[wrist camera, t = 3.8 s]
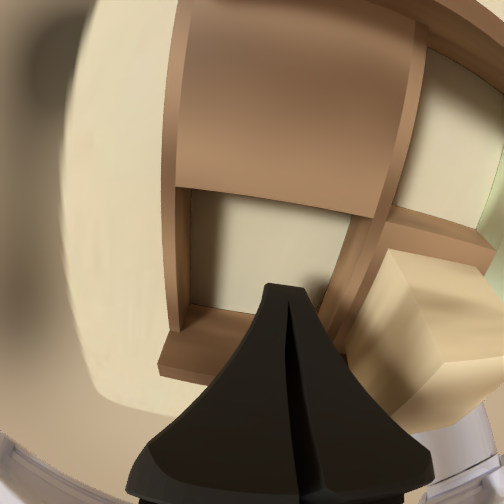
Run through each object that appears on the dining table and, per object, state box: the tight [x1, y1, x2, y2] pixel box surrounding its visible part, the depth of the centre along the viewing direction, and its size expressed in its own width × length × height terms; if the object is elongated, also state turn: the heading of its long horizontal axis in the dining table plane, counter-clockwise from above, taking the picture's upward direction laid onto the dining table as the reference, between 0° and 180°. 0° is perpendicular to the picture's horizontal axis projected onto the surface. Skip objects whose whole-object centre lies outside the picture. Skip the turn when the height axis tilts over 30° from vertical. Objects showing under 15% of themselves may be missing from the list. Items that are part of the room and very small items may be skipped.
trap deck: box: [157, 0, 504, 386], centre depth 8 cm, size 16×20×4 cm
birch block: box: [344, 249, 504, 435], centre depth 8 cm, size 5×5×5 cm
